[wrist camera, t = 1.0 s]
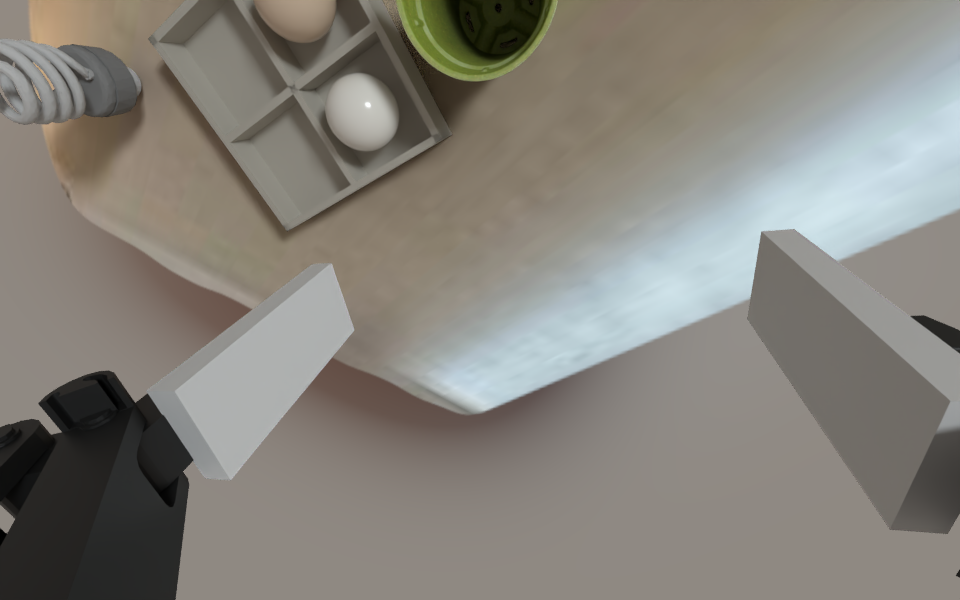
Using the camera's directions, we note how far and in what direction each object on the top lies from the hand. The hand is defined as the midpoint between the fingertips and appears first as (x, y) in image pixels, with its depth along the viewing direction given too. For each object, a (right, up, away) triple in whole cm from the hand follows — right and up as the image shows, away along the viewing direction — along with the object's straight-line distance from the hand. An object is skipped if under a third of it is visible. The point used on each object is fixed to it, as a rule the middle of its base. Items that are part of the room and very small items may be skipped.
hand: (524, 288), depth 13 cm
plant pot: (0, +21, +18) cm, 27 cm away
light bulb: (-33, +20, +26) cm, 46 cm away
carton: (-16, +18, +23) cm, 33 cm away
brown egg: (-14, +23, +19) cm, 33 cm away
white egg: (-10, +16, +22) cm, 29 cm away
